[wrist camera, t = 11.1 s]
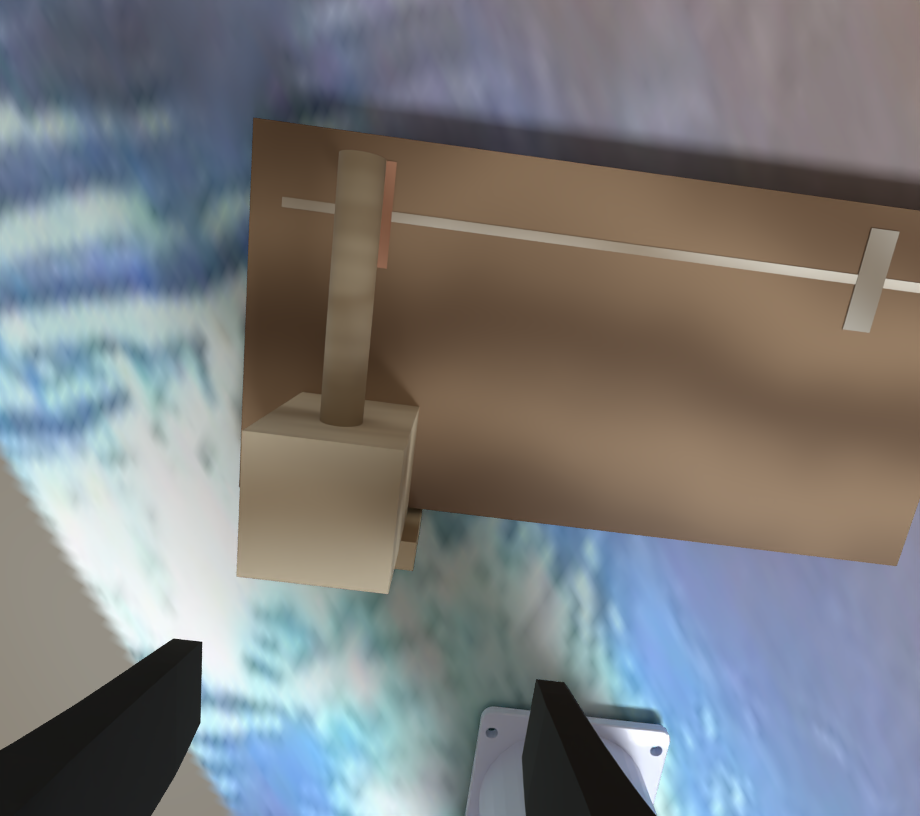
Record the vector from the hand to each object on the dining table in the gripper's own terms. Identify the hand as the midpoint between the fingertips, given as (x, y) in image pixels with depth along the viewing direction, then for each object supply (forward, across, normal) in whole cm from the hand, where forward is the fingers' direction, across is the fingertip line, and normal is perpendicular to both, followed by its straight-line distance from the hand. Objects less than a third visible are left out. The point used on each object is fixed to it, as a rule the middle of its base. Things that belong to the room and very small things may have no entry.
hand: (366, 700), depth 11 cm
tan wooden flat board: (+9, -6, -7) cm, 13 cm away
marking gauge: (+9, +2, -6) cm, 11 cm away
